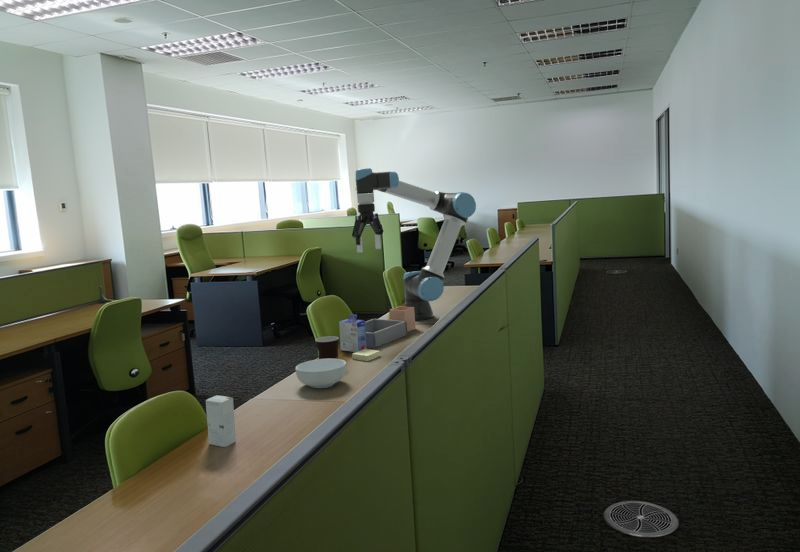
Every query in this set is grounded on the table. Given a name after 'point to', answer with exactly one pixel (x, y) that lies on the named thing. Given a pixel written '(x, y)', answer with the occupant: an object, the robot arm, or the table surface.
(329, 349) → the coffee mug
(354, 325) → the ink cartridge box
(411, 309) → the pen holder
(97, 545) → the table surface
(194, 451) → the table surface
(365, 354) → the sticky note pad
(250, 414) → the table surface
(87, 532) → the table surface
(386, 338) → the grey bin
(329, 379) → the cereal bowl
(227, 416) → the skincare box
